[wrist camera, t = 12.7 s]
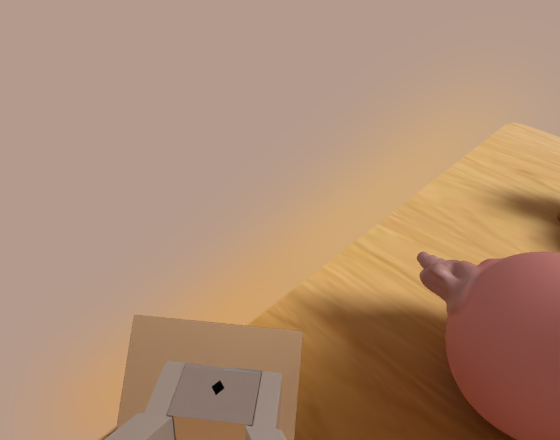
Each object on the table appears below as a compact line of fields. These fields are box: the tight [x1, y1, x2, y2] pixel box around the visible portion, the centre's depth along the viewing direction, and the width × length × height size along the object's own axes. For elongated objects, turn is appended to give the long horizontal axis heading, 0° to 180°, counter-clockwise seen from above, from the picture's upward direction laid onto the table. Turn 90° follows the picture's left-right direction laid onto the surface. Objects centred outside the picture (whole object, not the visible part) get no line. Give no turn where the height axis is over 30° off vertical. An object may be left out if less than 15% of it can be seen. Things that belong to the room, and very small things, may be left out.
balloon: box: [417, 252, 560, 440], centre depth 40 cm, size 15×20×15 cm
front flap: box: [116, 315, 303, 440], centre depth 30 cm, size 8×11×1 cm
